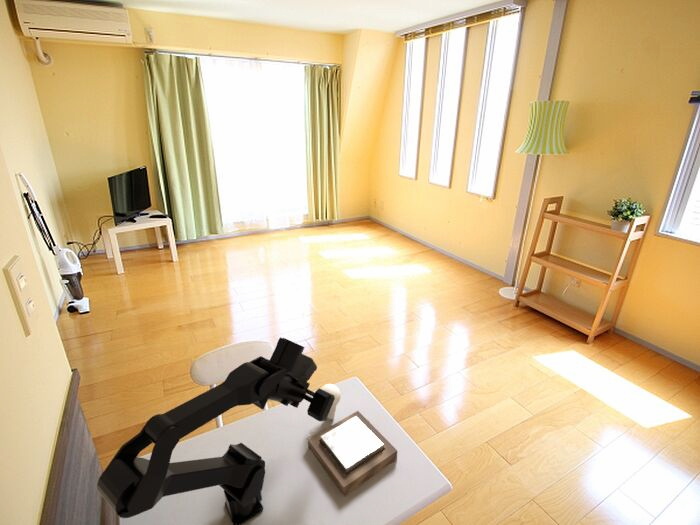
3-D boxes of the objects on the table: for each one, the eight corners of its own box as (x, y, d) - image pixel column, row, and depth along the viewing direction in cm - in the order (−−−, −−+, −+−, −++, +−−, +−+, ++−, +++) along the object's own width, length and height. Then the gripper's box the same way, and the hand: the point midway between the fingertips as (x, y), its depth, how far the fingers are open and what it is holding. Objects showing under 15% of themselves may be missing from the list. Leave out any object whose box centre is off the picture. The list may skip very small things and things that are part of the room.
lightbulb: (342, 410, 105) (341, 379, 101) (339, 427, 100) (338, 395, 95) (321, 408, 106) (319, 378, 102) (317, 425, 100) (315, 394, 96)
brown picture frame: (344, 496, 82) (343, 487, 80) (308, 447, 94) (307, 439, 92) (396, 459, 90) (397, 450, 89) (358, 418, 102) (358, 410, 101)
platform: (346, 475, 84) (346, 468, 83) (320, 442, 92) (320, 436, 91) (383, 450, 90) (383, 444, 89) (356, 421, 98) (356, 415, 97)
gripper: (328, 368, 78) (357, 380, 91) (267, 340, 88) (301, 354, 101) (305, 420, 75) (339, 424, 88) (246, 384, 85) (283, 393, 98)
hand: (315, 396), depth 94 cm, fingers open, 9 cm apart
